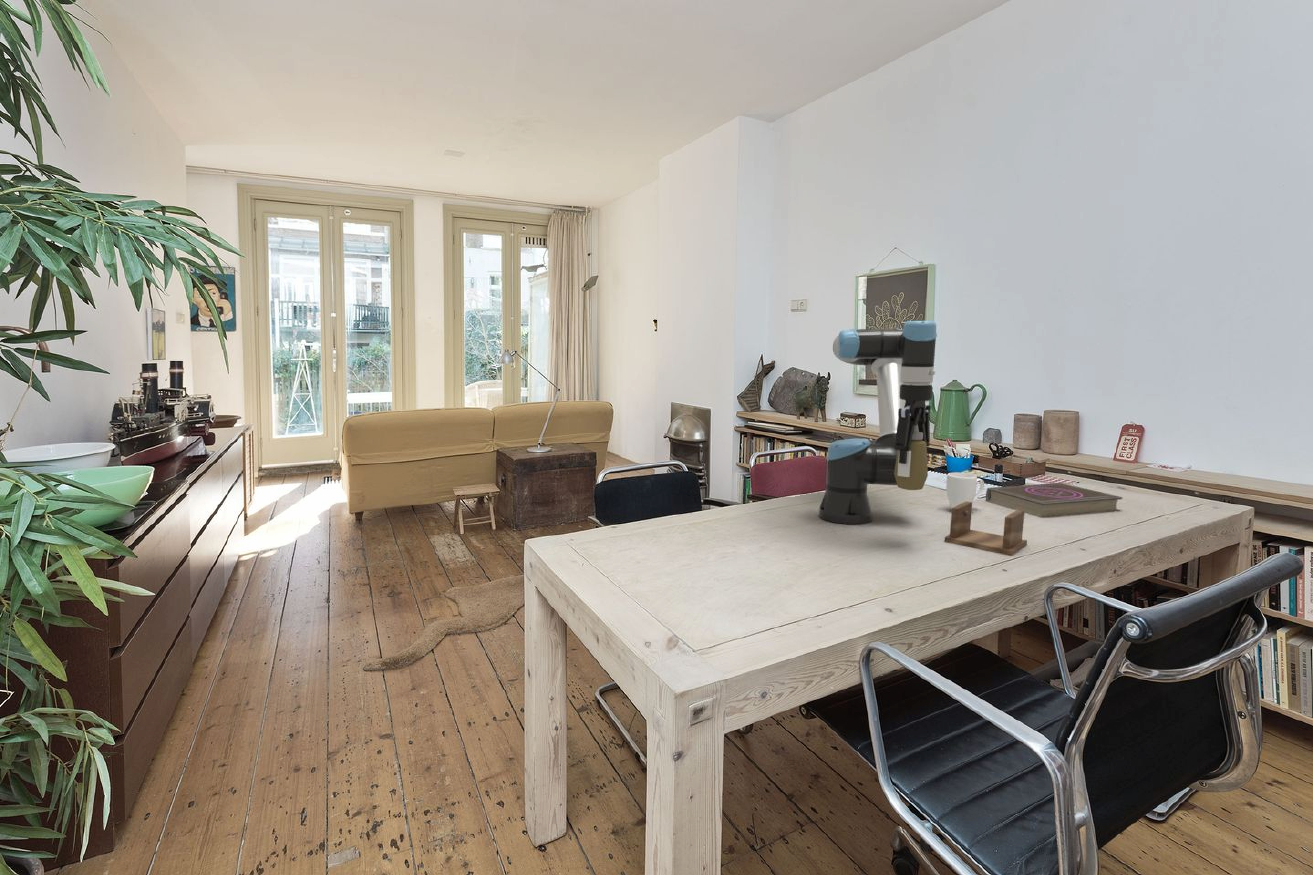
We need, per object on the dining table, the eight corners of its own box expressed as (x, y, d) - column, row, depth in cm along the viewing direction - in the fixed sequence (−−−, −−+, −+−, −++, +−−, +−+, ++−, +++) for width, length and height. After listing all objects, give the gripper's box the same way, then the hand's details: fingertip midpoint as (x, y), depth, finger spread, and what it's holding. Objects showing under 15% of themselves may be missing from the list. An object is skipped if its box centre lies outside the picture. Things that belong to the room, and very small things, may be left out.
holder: (944, 541, 166) (946, 507, 165) (961, 532, 174) (963, 500, 173) (1011, 555, 155) (1014, 519, 153) (1026, 545, 163) (1029, 510, 162)
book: (1042, 519, 189) (1043, 503, 189) (985, 502, 211) (986, 487, 210) (1120, 512, 198) (1122, 497, 197) (1057, 496, 219) (1059, 482, 218)
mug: (957, 515, 192) (959, 478, 190) (939, 508, 200) (941, 472, 198) (991, 513, 195) (993, 476, 193) (971, 506, 203) (974, 471, 201)
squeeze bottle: (930, 492, 157) (934, 420, 155) (895, 491, 159) (899, 419, 156) (923, 485, 165) (927, 416, 162) (890, 484, 167) (894, 415, 164)
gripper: (913, 386, 148) (907, 482, 152) (948, 382, 163) (942, 469, 166) (882, 385, 153) (877, 477, 157) (918, 381, 168) (913, 465, 171)
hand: (910, 473), depth 161 cm, fingers closed on squeeze bottle, 8 cm apart
